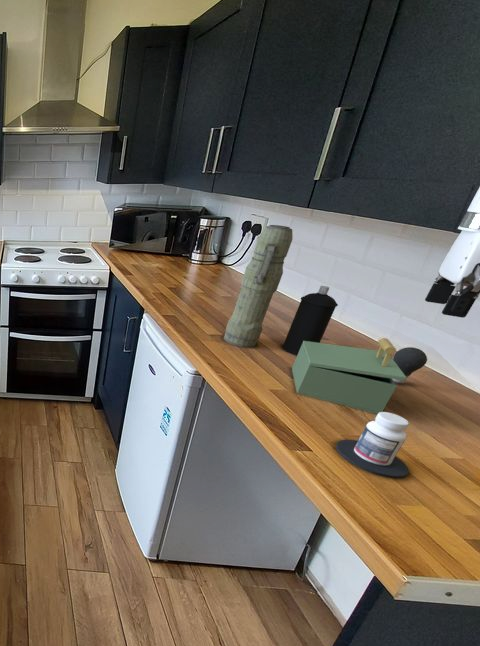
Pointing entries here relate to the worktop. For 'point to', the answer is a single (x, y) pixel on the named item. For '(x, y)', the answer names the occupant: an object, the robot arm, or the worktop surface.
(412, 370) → the light bulb
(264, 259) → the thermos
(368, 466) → the coaster
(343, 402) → the chest
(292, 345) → the aerosol can
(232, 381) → the worktop surface
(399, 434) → the pill bottle
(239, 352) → the worktop surface
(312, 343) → the chest lid
